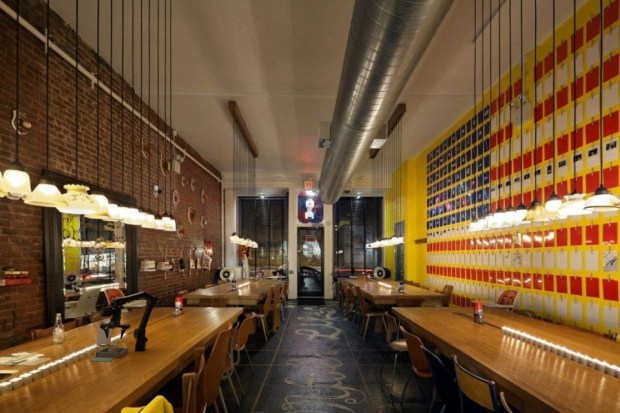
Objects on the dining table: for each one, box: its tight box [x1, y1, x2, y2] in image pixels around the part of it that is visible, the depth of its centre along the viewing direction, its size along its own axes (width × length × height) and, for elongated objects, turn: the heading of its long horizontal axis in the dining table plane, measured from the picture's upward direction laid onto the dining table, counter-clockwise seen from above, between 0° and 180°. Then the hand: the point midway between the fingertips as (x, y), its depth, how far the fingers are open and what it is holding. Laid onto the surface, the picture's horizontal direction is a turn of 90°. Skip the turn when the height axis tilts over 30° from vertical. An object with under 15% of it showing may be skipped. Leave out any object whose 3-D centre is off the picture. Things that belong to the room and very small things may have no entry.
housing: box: [95, 346, 130, 359], centre depth 268 cm, size 16×14×3 cm
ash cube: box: [108, 342, 119, 351], centre depth 268 cm, size 4×4×4 cm
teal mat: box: [89, 356, 114, 363], centre depth 255 cm, size 12×7×1 cm, turn 93°
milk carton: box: [95, 317, 113, 345], centre depth 293 cm, size 7×7×19 cm
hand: (114, 338), depth 269 cm, fingers open, 9 cm apart
